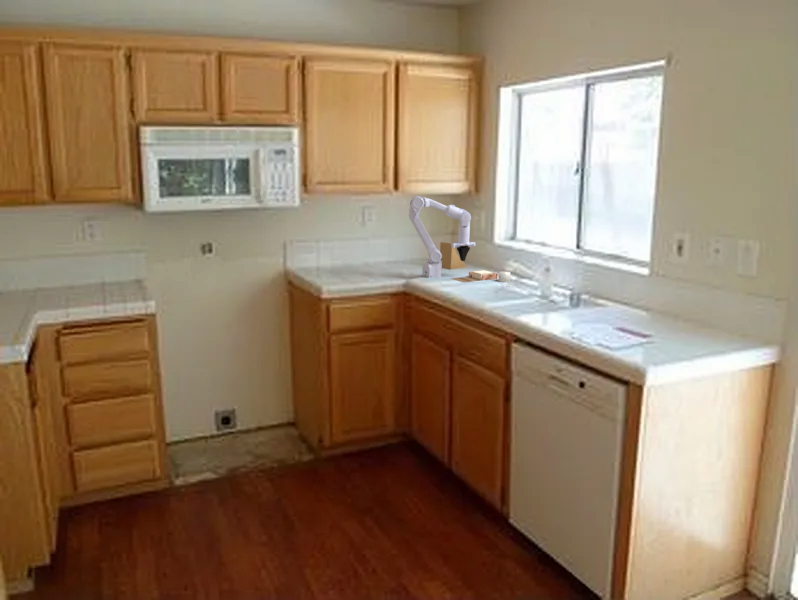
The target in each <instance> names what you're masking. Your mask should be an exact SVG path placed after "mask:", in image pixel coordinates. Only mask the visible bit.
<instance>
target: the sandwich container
mask: <svg viewBox="0 0 798 600" xmlns="http://www.w3.org/2000/svg"><path fill="white" fill-rule="evenodd" d="M439 244H440V247H439V248H440V249H439V250H440V252H441V254H442V258H441V261H442V269H446V270H456V269H462V268H467V264H466V263H465V261H461V260H460V255H459V252H458V250H457V248H456V247H455V248H453V247H451V244H452V243H451V242H447V241H446V242H444V241H440V243H439Z"/></svg>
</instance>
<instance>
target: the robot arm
mask: <svg viewBox="0 0 798 600" xmlns="http://www.w3.org/2000/svg"><path fill="white" fill-rule="evenodd" d="M423 207H424V208H429V207H430V208H433V209H436V210H439V211H442V212H443V213H444V214H445V216H447V217H450V218H452V219H454V220H456V221H457V220H458V221H459V224H458V238H457V239H458V240H457V242H453V243H452V244H451V247H453V248H455V249H456V251H457V252H458V254H459V256H460V260H461V261H463V262H465V261H466V259H467V256H468V253H469V251H470V250H471V247H476V242H475V241H471V242H470V235H471V234H470V233H471V232H470V231H471V220H472V216H471V215H472V214H471V213H470V212H468V210H466V209H464V208H459V207H457V206H456V205H455V204H448V205H445V204H442V203H441V202H439V201H436V200H434V199H431V198H428V197H425V196H421V195H414V196H412V198H411V200H410V203H409V209H408V210H409V211H408V217H409V218H408V219H409V220H410V222H411V224H412V225H413V227H414V229H415V231H416V232H417V234H418V237H419V238H420V239H421V241H422V243H423V245H424V247H425V249H426V250H427V252H428V256H429V259H428V260H427V262H425V263H423V265H422V277H423V278H428V279H432V278H433V279H434V278H441V277H442V270H443V268H442V261H441V258H442V254H441V252H440V249H439V248H437V247H436V245H435V243H434V242H433V240H432V238H431V236H430V235H429V233H428V231H427V229H426V227H425V225H424V223H423V222H422V220H421V218H420V217H419V216H420V213H421V210H422V209H423Z"/></svg>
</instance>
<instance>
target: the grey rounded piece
mask: <svg viewBox="0 0 798 600" xmlns="http://www.w3.org/2000/svg"><path fill="white" fill-rule="evenodd" d="M497 279H498V280H497V281H498V282H501V283H510V282H511V272H510V271H506V270H504V271H503V270H500V271H498V276H497ZM510 285H511V284H508V286H510Z"/></svg>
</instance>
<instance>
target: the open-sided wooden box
mask: <svg viewBox="0 0 798 600" xmlns="http://www.w3.org/2000/svg"><path fill="white" fill-rule="evenodd" d="M498 277H499V273H495V272H493V274H489V275H482V279H477V278H473V277H472V271H468V276H462V277H454V278H449V279H450V280H454V281H458V282H460V283H470V282H471V283H472V282H473V283H474V282H482V281H489V280H497V279H498Z"/></svg>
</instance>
